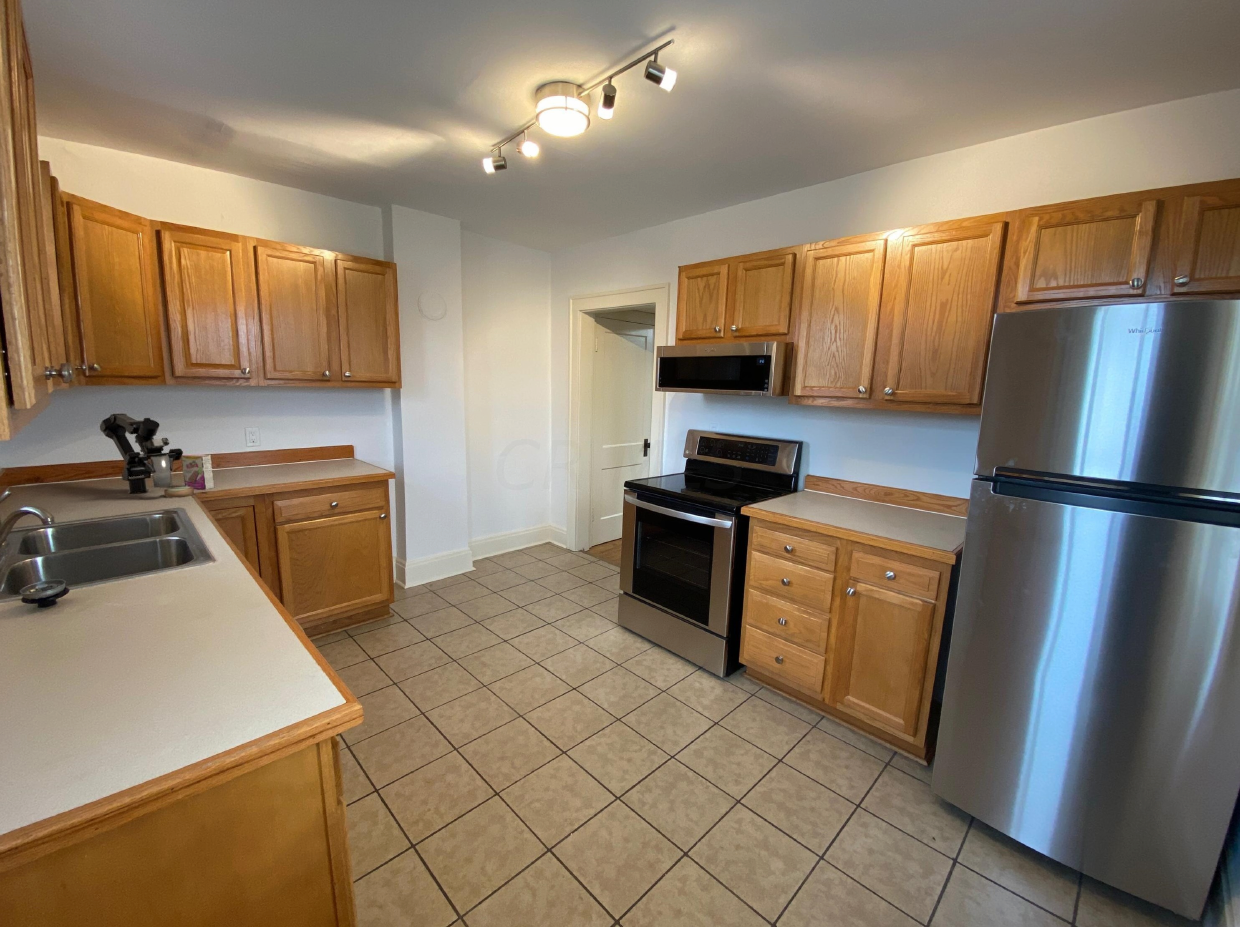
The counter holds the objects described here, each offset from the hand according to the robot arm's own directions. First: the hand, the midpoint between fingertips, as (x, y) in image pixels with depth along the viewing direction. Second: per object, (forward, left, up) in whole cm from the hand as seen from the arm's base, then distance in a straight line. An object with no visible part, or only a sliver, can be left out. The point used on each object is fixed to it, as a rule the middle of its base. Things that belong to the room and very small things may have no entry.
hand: (163, 471), depth 219 cm
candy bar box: (-21, +10, -13) cm, 26 cm away
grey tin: (-1, -1, -7) cm, 7 cm away
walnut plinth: (-7, +4, -12) cm, 15 cm away
